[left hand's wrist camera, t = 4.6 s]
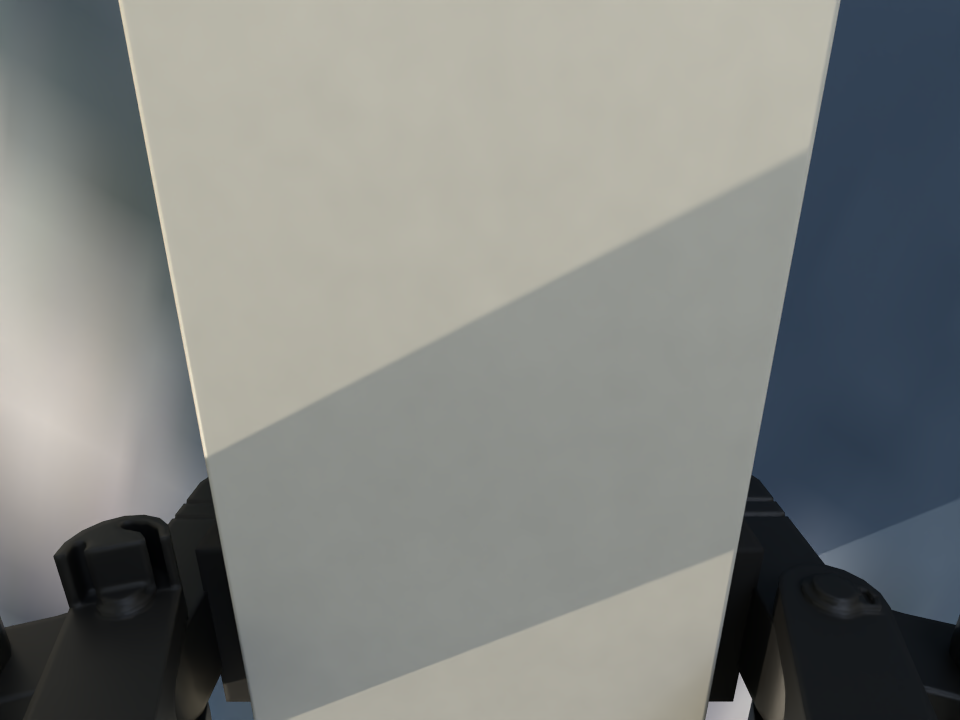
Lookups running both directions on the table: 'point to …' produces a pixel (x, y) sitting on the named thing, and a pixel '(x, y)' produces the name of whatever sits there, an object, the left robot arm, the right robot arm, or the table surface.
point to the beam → (479, 332)
